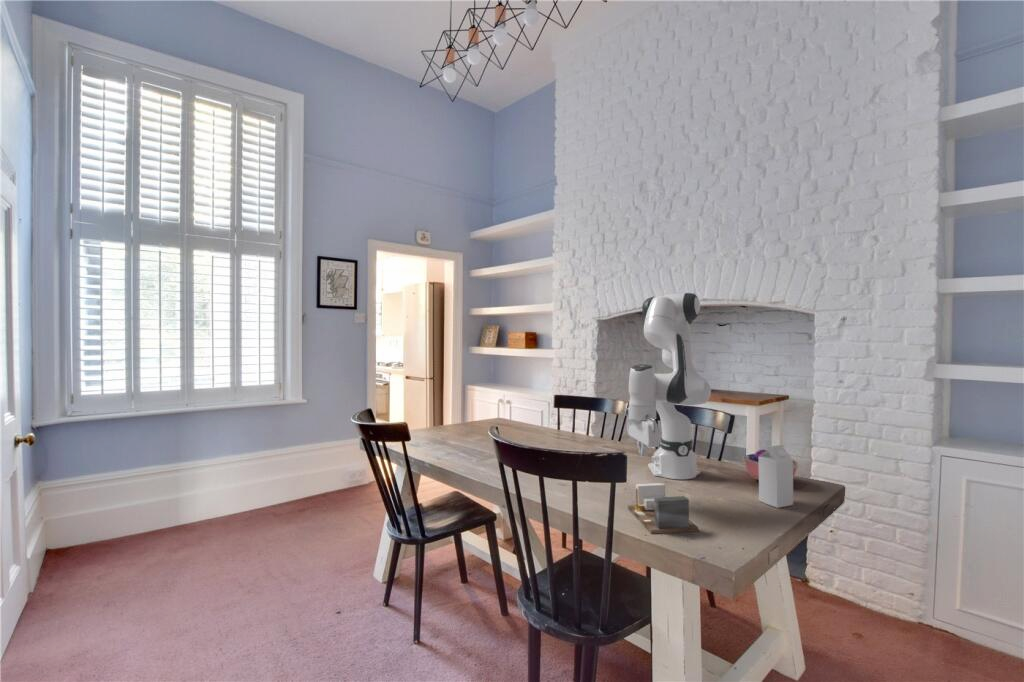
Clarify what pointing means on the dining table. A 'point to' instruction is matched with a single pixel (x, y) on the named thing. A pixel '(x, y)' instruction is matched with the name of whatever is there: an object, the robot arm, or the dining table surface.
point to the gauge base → (652, 524)
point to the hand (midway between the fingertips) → (642, 454)
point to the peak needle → (637, 502)
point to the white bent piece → (649, 494)
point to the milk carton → (776, 477)
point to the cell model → (753, 464)
